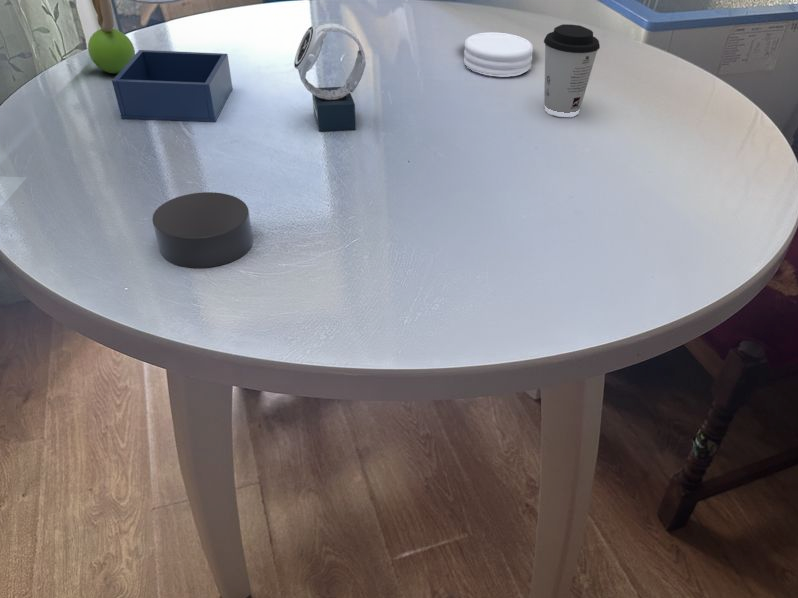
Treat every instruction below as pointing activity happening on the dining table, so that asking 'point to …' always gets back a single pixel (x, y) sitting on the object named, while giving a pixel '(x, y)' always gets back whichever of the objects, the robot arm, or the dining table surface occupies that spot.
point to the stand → (203, 229)
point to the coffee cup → (568, 66)
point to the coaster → (497, 53)
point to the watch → (329, 102)
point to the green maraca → (109, 41)
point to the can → (156, 1)
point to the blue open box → (173, 86)
